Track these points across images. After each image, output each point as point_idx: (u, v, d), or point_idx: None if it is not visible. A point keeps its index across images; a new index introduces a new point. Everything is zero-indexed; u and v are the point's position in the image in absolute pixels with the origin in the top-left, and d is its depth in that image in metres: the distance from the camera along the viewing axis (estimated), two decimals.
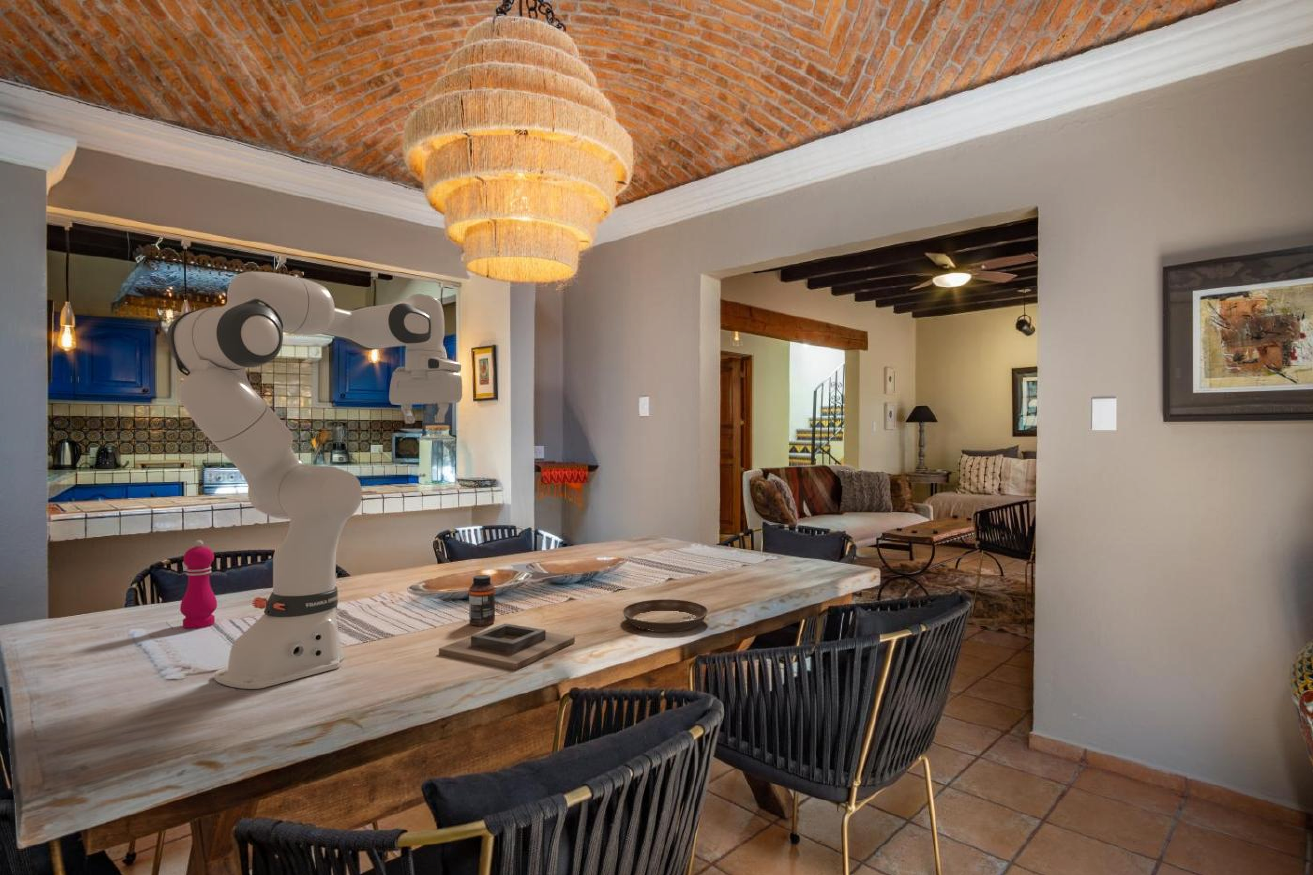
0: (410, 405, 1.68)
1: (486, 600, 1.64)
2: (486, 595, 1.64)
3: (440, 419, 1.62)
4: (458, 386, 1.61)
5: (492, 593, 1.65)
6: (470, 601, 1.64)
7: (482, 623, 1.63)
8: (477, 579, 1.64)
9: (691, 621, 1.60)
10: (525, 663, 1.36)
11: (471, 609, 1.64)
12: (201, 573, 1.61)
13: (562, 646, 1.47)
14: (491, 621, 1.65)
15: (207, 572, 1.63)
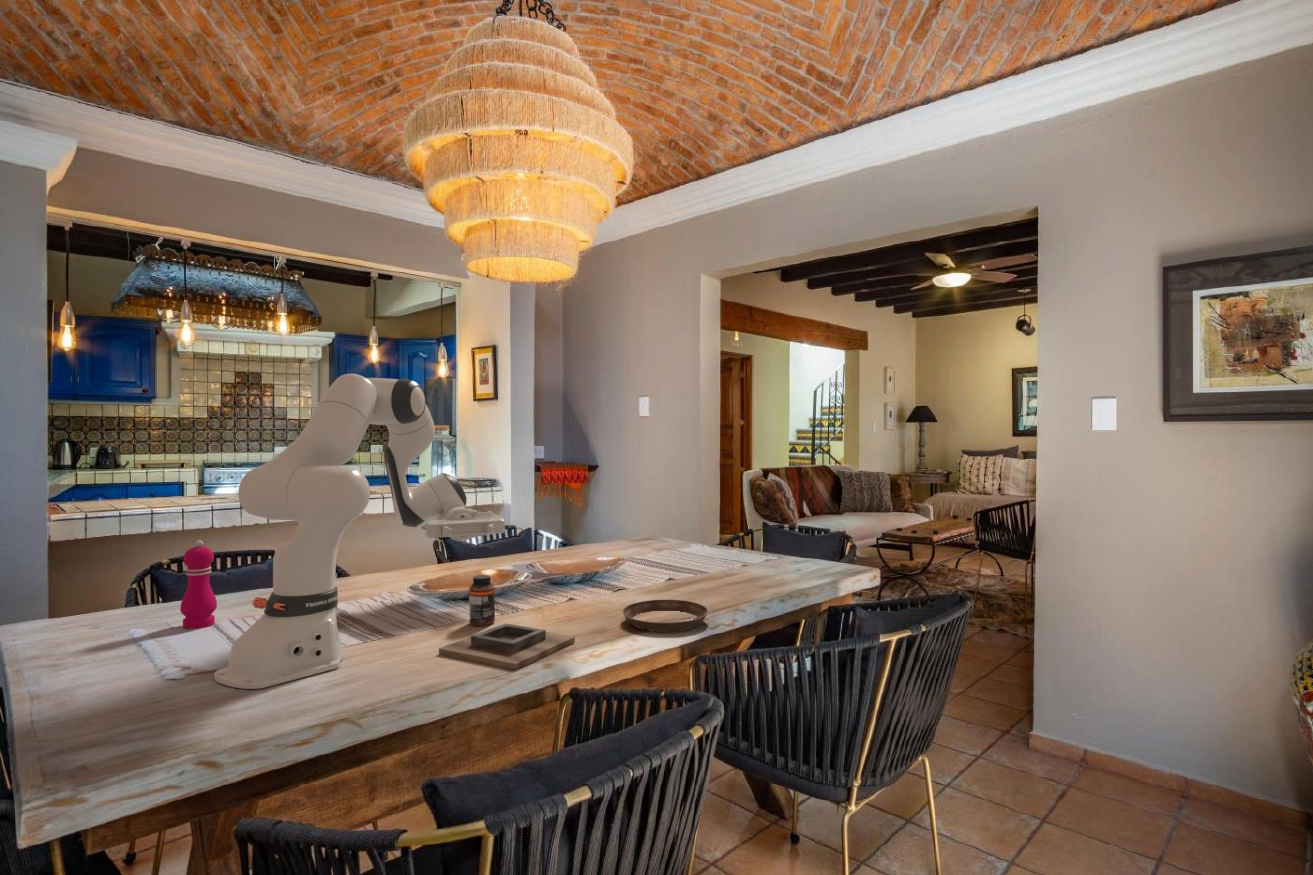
0: None
1: (486, 600, 1.64)
2: (486, 595, 1.64)
3: None
4: None
5: (492, 593, 1.65)
6: (470, 601, 1.64)
7: (482, 623, 1.63)
8: (477, 579, 1.64)
9: (691, 621, 1.60)
10: (525, 663, 1.36)
11: (471, 609, 1.64)
12: (201, 573, 1.61)
13: (562, 646, 1.47)
14: (491, 621, 1.65)
15: (207, 572, 1.63)
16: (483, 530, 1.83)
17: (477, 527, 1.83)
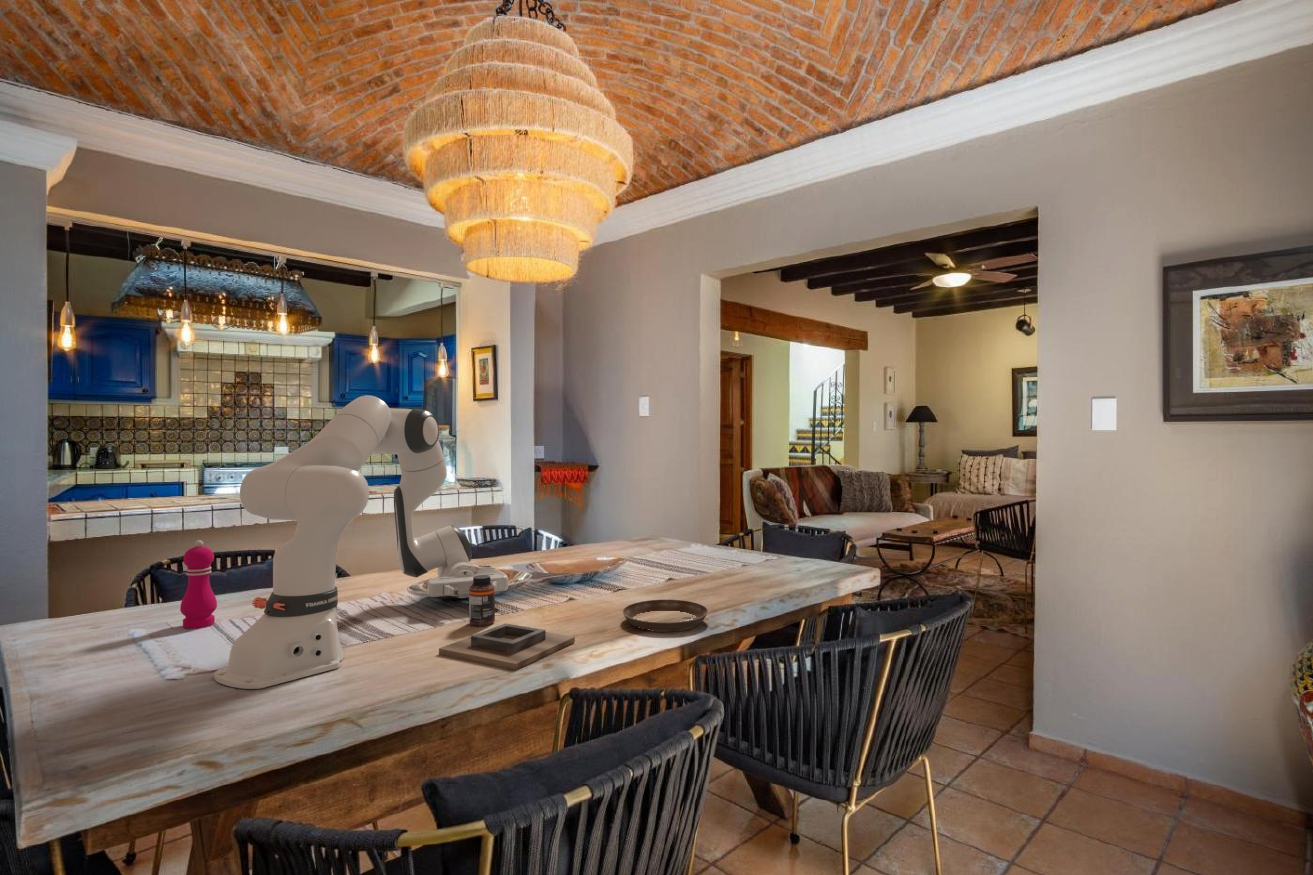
0: None
1: (486, 600, 1.64)
2: (486, 595, 1.64)
3: None
4: None
5: (492, 593, 1.65)
6: (470, 601, 1.64)
7: (482, 623, 1.63)
8: (477, 579, 1.64)
9: (691, 621, 1.60)
10: (525, 663, 1.36)
11: (471, 609, 1.64)
12: (201, 573, 1.61)
13: (562, 646, 1.47)
14: (491, 621, 1.65)
15: (207, 572, 1.63)
16: None
17: None
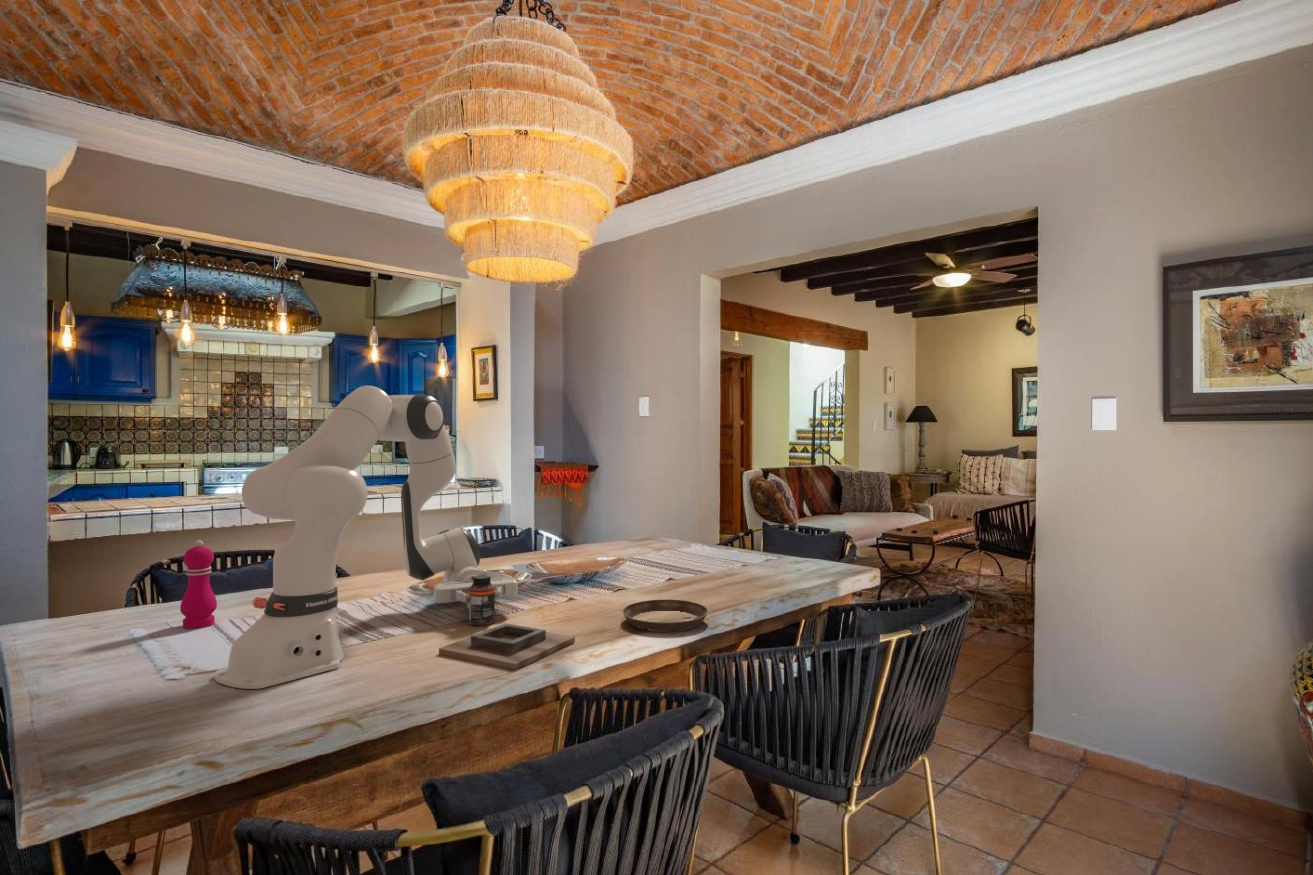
0: None
1: (486, 600, 1.64)
2: (486, 595, 1.64)
3: None
4: None
5: (492, 593, 1.65)
6: (470, 601, 1.64)
7: (482, 623, 1.63)
8: (477, 579, 1.64)
9: (691, 621, 1.60)
10: (525, 663, 1.36)
11: (471, 609, 1.64)
12: (201, 573, 1.61)
13: (562, 646, 1.47)
14: (491, 621, 1.65)
15: (207, 572, 1.63)
16: None
17: None
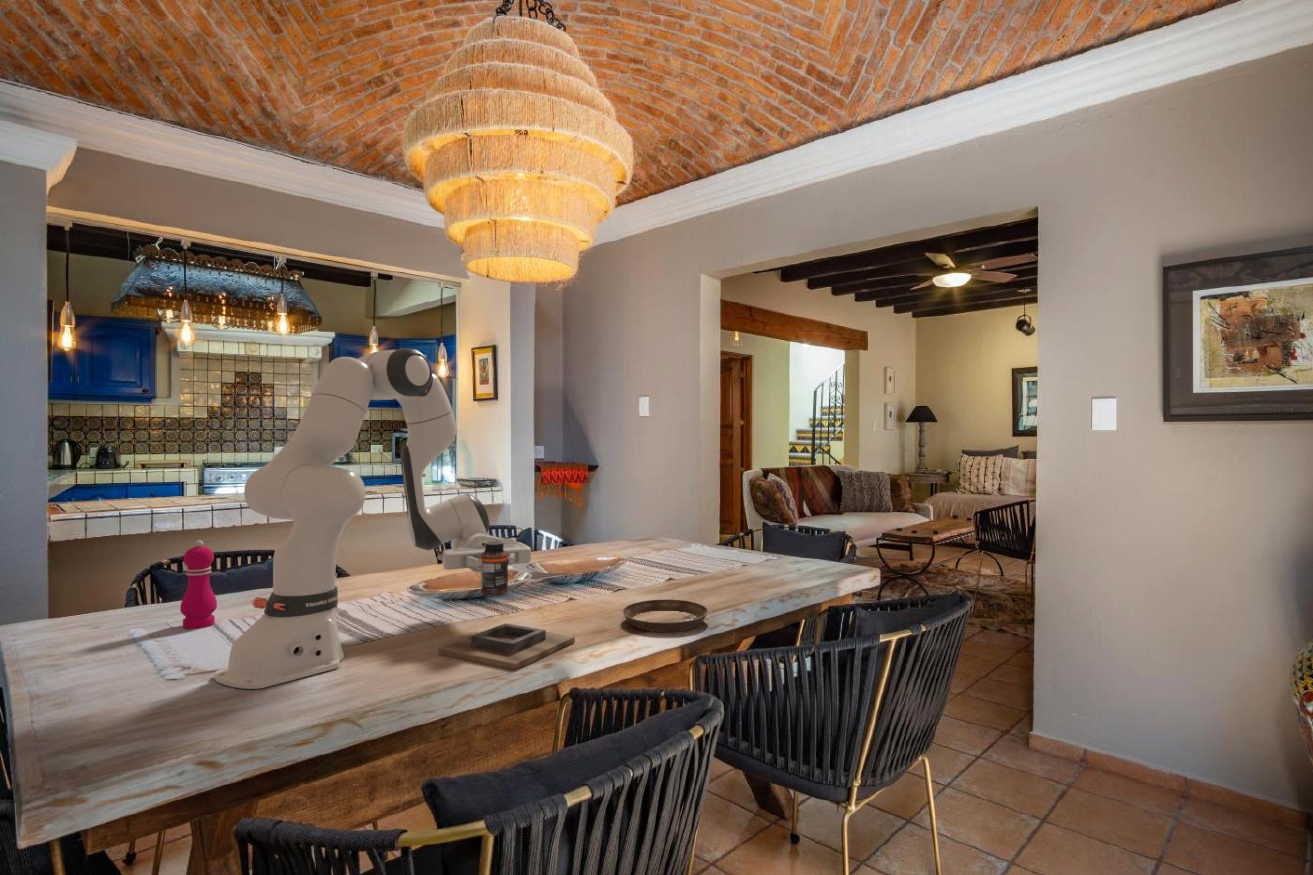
0: None
1: (499, 568, 1.54)
2: (499, 562, 1.54)
3: None
4: None
5: (505, 560, 1.55)
6: (482, 569, 1.54)
7: (495, 592, 1.54)
8: (490, 545, 1.54)
9: (691, 621, 1.60)
10: (525, 663, 1.36)
11: (483, 577, 1.54)
12: (201, 573, 1.61)
13: (562, 646, 1.47)
14: (504, 590, 1.55)
15: (207, 572, 1.63)
16: None
17: None
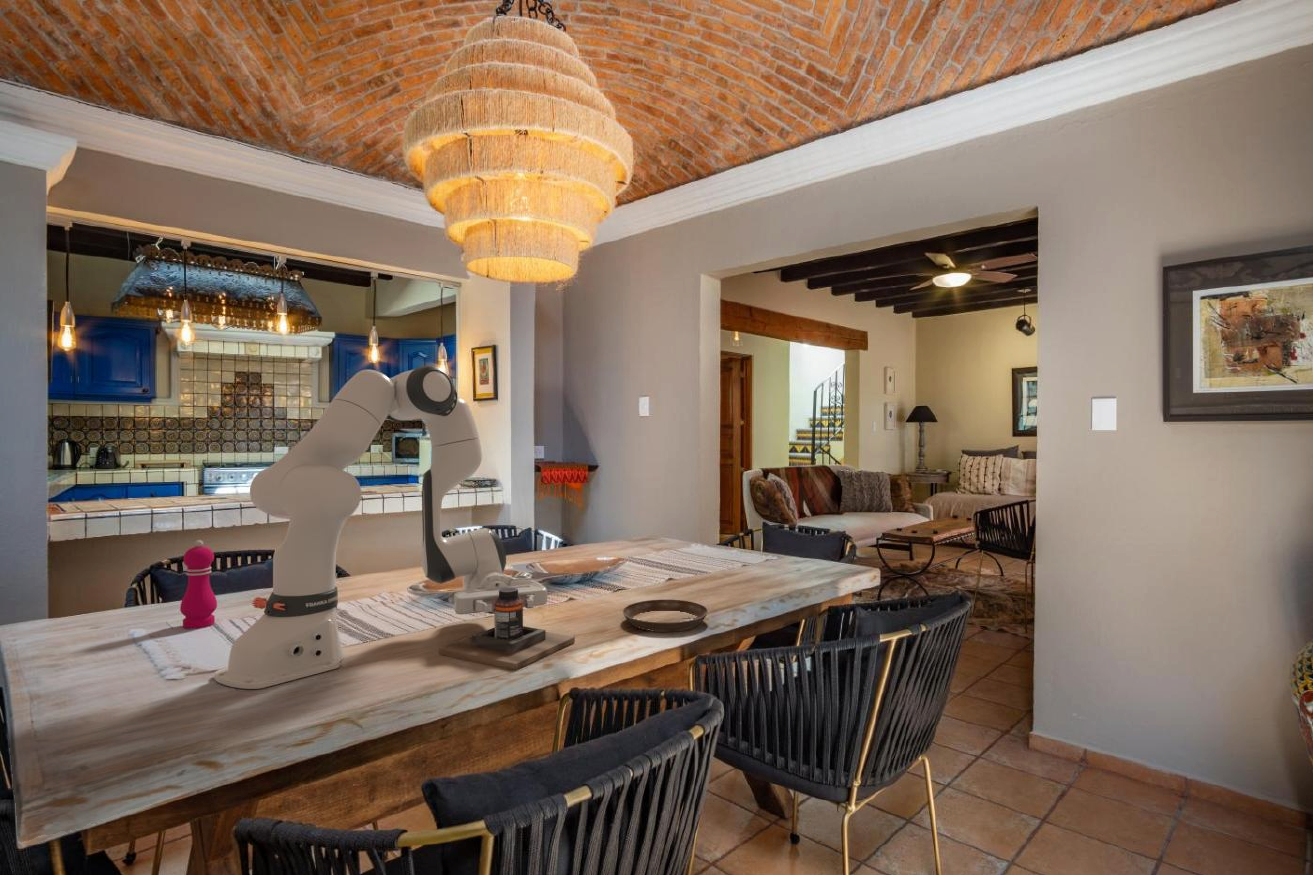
0: None
1: (514, 617, 1.45)
2: (514, 611, 1.45)
3: None
4: None
5: (520, 608, 1.46)
6: (496, 617, 1.45)
7: None
8: (503, 593, 1.45)
9: (691, 621, 1.60)
10: (525, 663, 1.36)
11: (497, 626, 1.45)
12: (201, 573, 1.61)
13: (562, 646, 1.47)
14: None
15: (207, 572, 1.63)
16: None
17: None
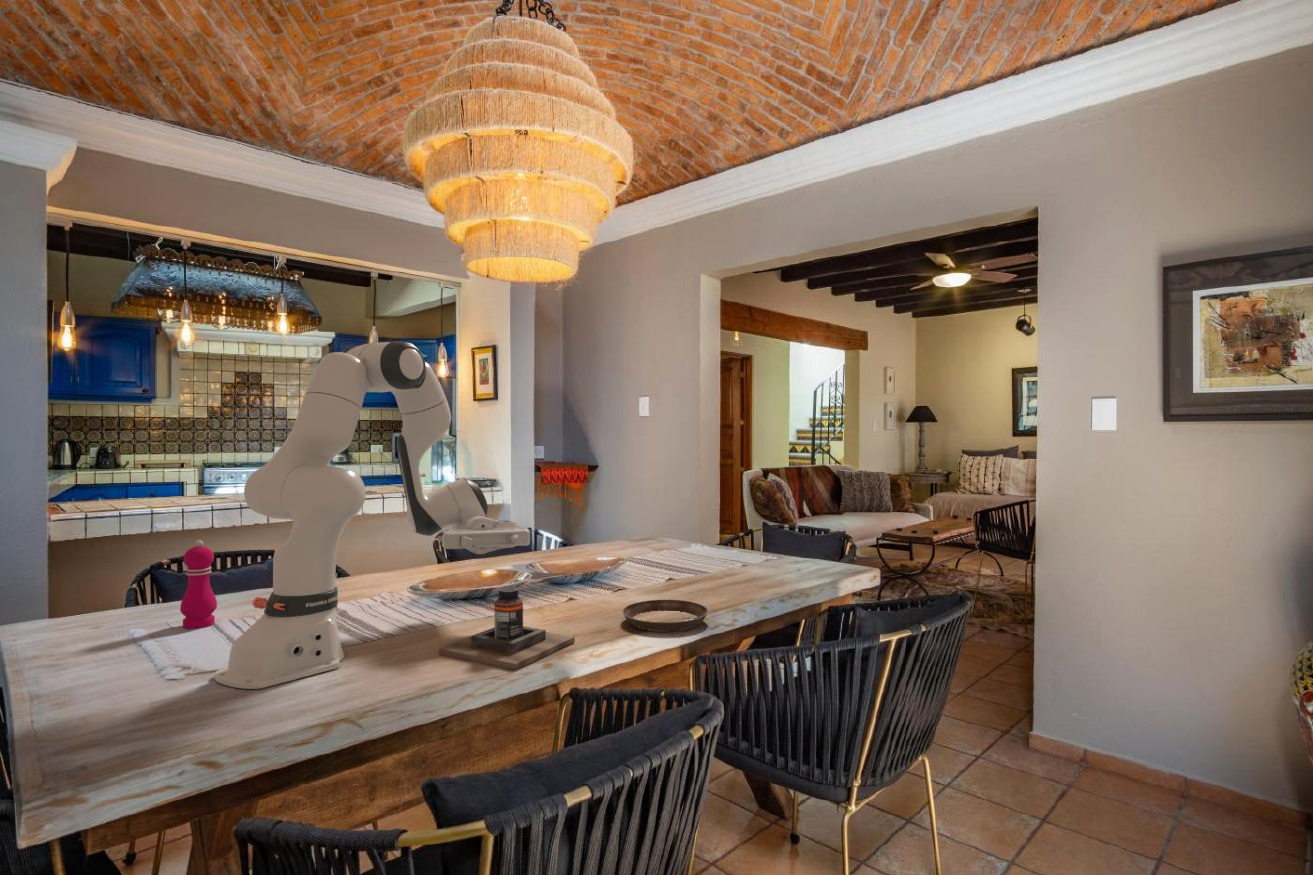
0: None
1: (514, 616, 1.45)
2: (514, 611, 1.45)
3: None
4: None
5: (520, 608, 1.46)
6: (496, 617, 1.45)
7: None
8: (504, 592, 1.45)
9: (691, 621, 1.60)
10: (525, 663, 1.36)
11: (497, 626, 1.45)
12: (201, 573, 1.61)
13: (562, 646, 1.47)
14: None
15: (207, 572, 1.63)
16: (506, 542, 1.64)
17: (500, 539, 1.64)
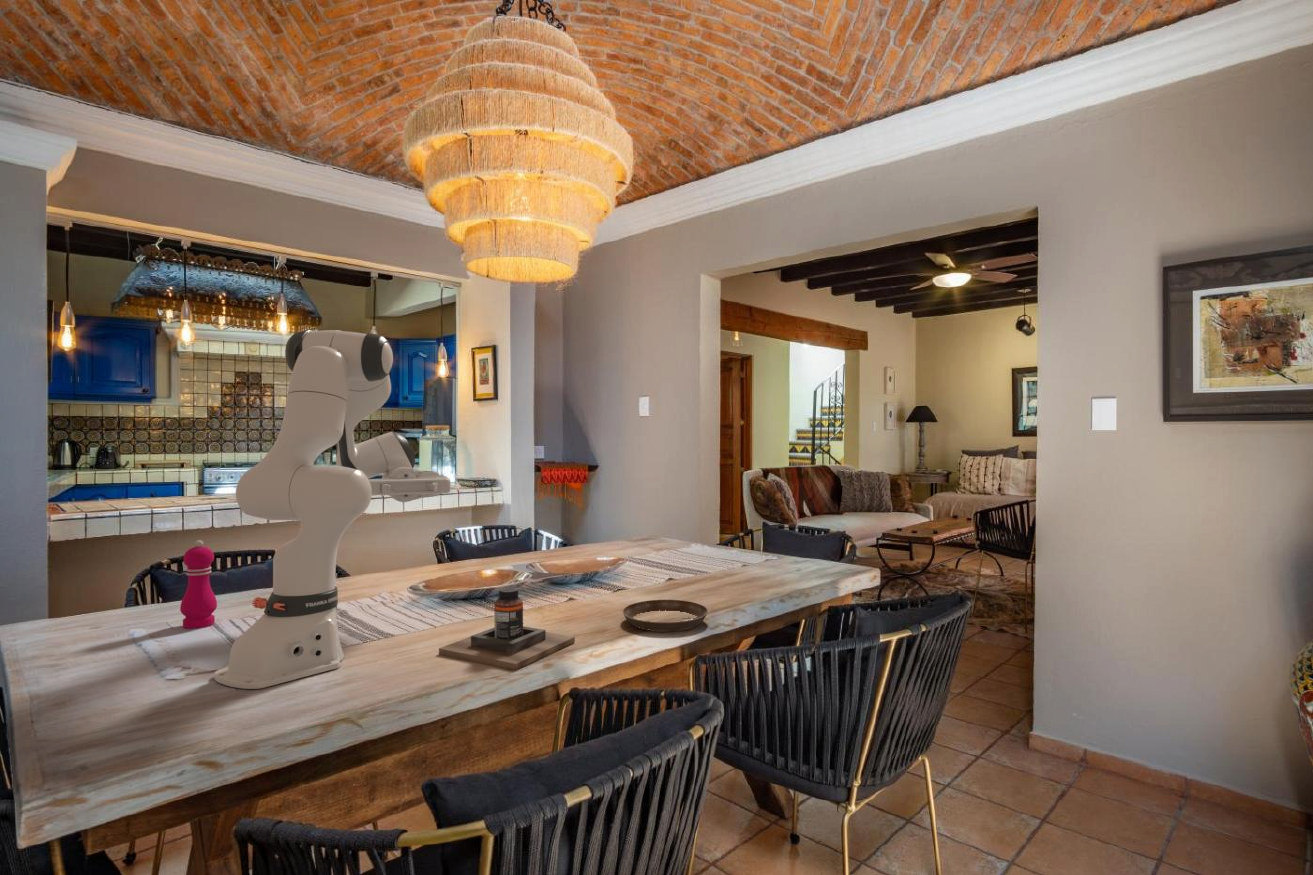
0: None
1: (514, 617, 1.45)
2: (514, 611, 1.45)
3: (435, 485, 1.71)
4: None
5: (520, 608, 1.46)
6: (496, 617, 1.45)
7: None
8: (504, 593, 1.45)
9: (691, 621, 1.60)
10: (525, 663, 1.36)
11: (497, 626, 1.45)
12: (201, 573, 1.61)
13: (562, 646, 1.47)
14: None
15: (207, 572, 1.63)
16: (426, 489, 1.74)
17: (420, 486, 1.74)
